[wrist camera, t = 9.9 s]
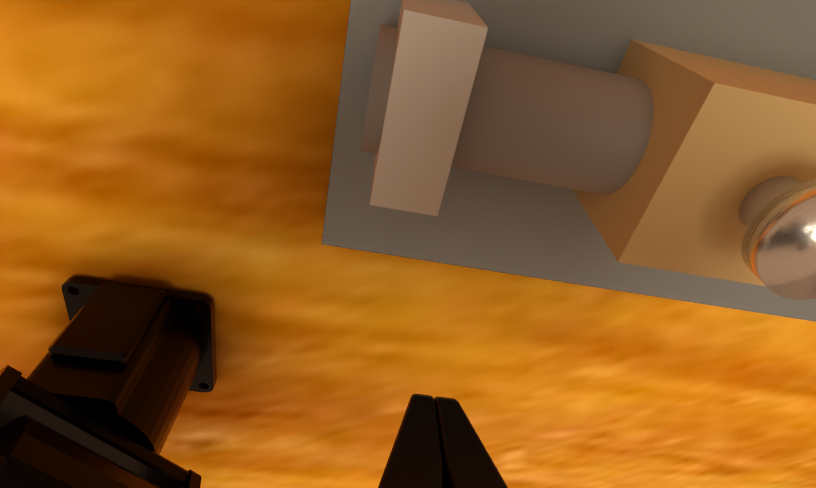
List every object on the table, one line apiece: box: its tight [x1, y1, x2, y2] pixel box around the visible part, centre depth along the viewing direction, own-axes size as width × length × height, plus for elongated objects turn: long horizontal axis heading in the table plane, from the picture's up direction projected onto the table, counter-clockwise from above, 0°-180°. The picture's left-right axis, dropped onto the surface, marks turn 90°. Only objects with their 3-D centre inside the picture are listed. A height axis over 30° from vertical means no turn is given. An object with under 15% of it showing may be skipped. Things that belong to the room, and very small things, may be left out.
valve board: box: [322, 0, 816, 322], centre depth 15 cm, size 14×24×8 cm, turn 79°
